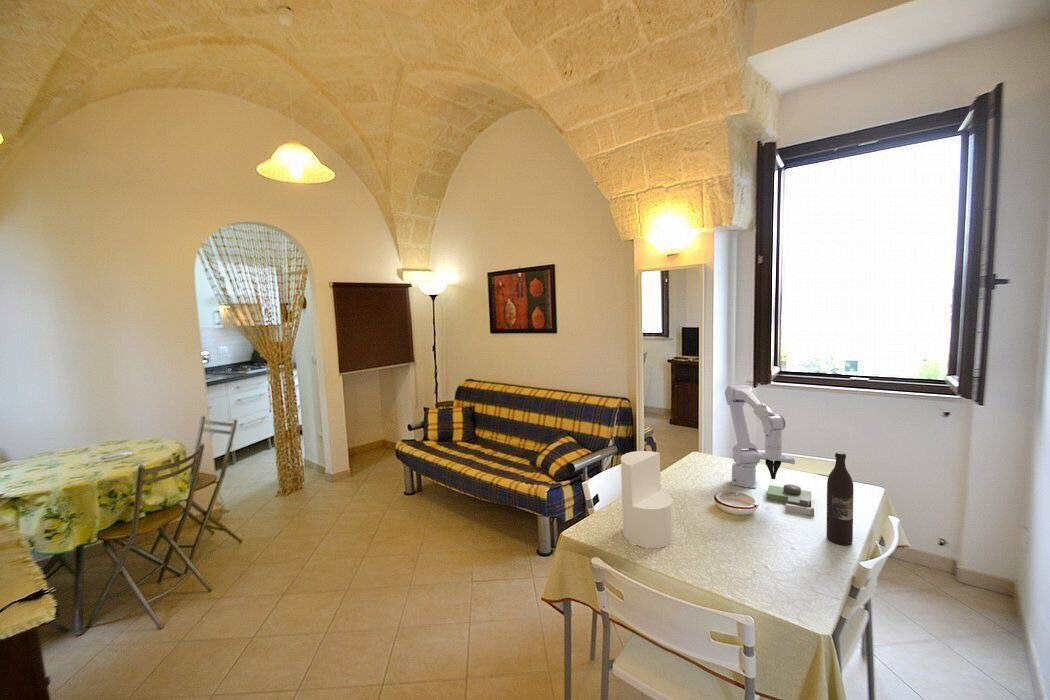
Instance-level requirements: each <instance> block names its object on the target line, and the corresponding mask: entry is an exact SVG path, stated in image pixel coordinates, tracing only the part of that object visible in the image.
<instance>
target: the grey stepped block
mask: <svg viewBox="0 0 1050 700" xmlns="http://www.w3.org/2000/svg"><path fill="white" fill-rule="evenodd" d="M787 504H792V505H797V506H803V507H809V496H804V495H800V498H799V497H793V496H788V503H787ZM809 508H810V507H809Z"/></svg>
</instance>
